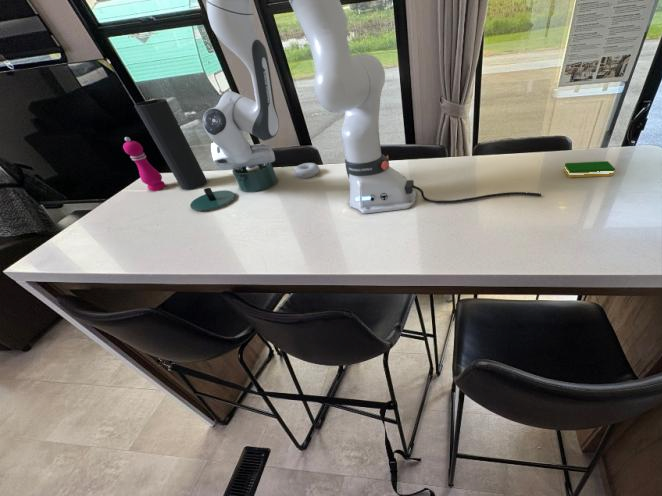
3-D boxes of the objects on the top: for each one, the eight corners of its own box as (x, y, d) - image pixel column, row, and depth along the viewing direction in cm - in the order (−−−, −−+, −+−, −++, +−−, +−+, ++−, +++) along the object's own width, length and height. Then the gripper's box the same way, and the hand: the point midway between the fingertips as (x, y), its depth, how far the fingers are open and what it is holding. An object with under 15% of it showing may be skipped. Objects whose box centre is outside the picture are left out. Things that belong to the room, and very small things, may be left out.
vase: (192, 179, 138) (149, 99, 117) (212, 179, 136) (172, 98, 116) (176, 190, 131) (127, 106, 110) (197, 190, 129) (151, 105, 108)
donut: (316, 179, 126) (323, 168, 134) (313, 170, 124) (320, 160, 131) (292, 180, 128) (300, 170, 135) (289, 171, 125) (297, 161, 132)
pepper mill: (144, 191, 133) (110, 139, 119) (159, 183, 138) (128, 133, 124) (156, 192, 131) (123, 140, 117) (171, 185, 135) (141, 134, 122)
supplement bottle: (249, 184, 127) (240, 162, 121) (259, 179, 130) (251, 158, 124) (257, 186, 125) (248, 164, 119) (266, 181, 127) (258, 160, 122)
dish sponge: (613, 176, 106) (615, 168, 104) (568, 178, 107) (570, 170, 106) (605, 167, 111) (607, 160, 109) (563, 169, 113) (564, 162, 111)
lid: (242, 192, 123) (237, 179, 119) (221, 211, 112) (214, 198, 108) (206, 193, 125) (200, 180, 122) (182, 212, 114) (174, 199, 110)
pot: (285, 173, 134) (279, 156, 129) (265, 194, 119) (257, 176, 115) (253, 175, 136) (246, 158, 131) (230, 195, 121) (221, 177, 117)
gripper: (266, 135, 110) (278, 155, 124) (205, 144, 109) (225, 164, 122) (269, 152, 110) (281, 171, 124) (208, 162, 108) (228, 179, 122)
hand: (253, 167), depth 123 cm, fingers open, 8 cm apart
